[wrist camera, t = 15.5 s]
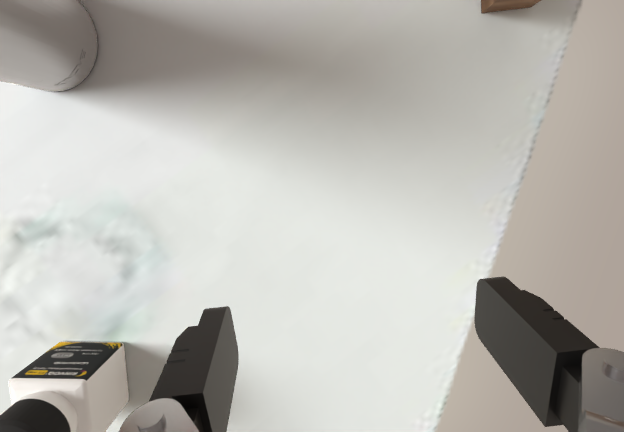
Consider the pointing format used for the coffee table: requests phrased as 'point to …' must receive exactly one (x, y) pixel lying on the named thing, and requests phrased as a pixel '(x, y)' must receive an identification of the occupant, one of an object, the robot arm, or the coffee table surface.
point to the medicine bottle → (69, 389)
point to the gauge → (505, 5)
